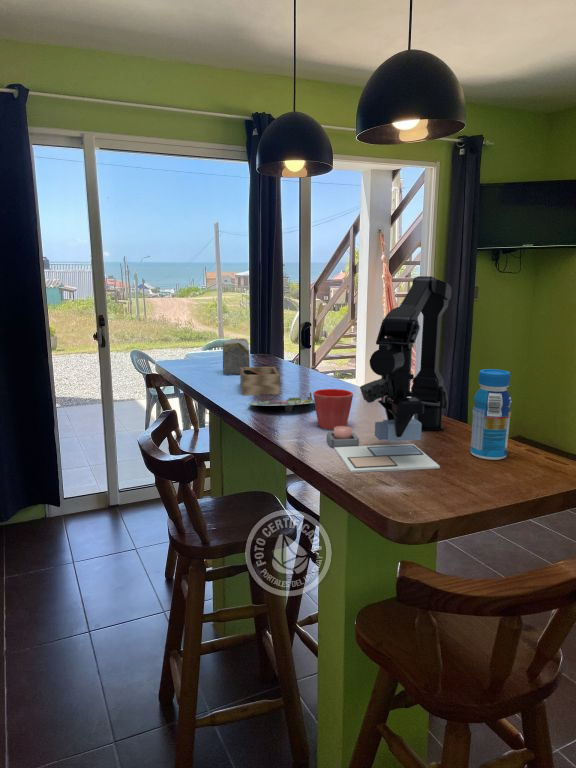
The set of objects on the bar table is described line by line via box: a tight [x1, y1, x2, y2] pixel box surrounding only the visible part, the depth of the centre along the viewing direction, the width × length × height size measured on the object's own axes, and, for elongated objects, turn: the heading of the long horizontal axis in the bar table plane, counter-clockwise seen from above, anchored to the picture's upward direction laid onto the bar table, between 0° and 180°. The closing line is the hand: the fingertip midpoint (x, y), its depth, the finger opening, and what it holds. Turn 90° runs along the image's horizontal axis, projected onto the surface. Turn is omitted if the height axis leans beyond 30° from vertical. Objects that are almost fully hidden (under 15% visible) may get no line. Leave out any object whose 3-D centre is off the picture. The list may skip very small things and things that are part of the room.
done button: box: [333, 425, 353, 439], centre depth 135 cm, size 4×4×3 cm
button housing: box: [326, 431, 360, 449], centre depth 135 cm, size 7×7×2 cm
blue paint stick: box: [374, 418, 422, 442], centre depth 127 cm, size 10×4×4 cm, turn 98°
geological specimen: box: [222, 337, 251, 376], centre depth 228 cm, size 11×6×15 cm, turn 105°
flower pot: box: [313, 388, 354, 431], centre depth 150 cm, size 11×11×10 cm
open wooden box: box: [239, 366, 281, 396], centre depth 198 cm, size 13×17×7 cm
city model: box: [248, 392, 315, 412], centre depth 173 cm, size 25×23×6 cm
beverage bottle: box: [469, 368, 513, 461], centre depth 125 cm, size 8×8×20 cm
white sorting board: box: [333, 443, 441, 474], centre depth 125 cm, size 20×16×1 cm
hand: (395, 434), depth 127 cm, fingers closed on blue paint stick, 4 cm apart
